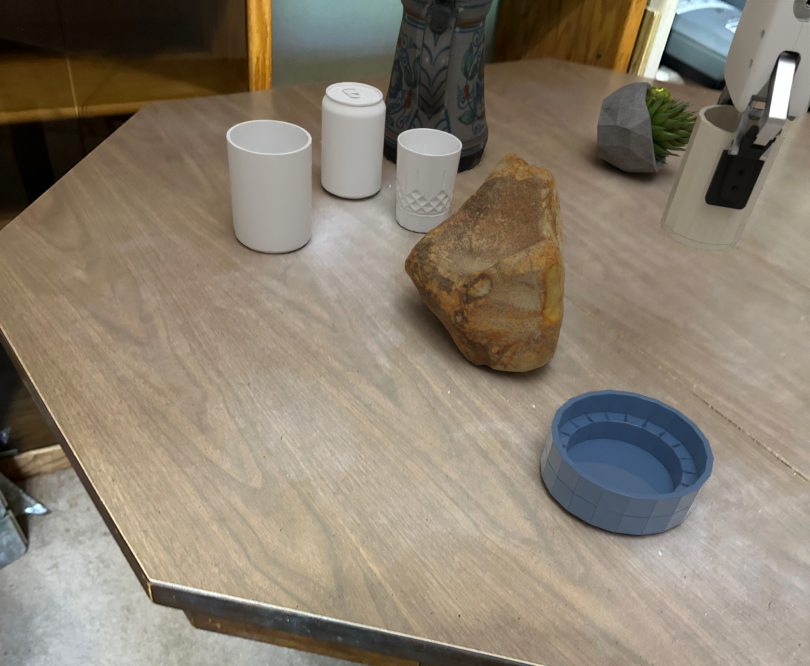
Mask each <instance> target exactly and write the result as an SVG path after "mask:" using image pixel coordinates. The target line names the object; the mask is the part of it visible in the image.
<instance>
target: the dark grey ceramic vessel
mask: <svg viewBox="0 0 810 666" xmlns="http://www.w3.org/2000/svg"><path fill="white" fill-rule="evenodd" d="M493 1H494V0H400V2H401V5H402V16H401V20H400V21H401V22H400V26H399V30H398V36H397V41H396V45H395V52H394V57H393V62H392V68H391V71H390V79H389V85H388V89H387V92H386V96H385V100H384V103H385V106H386V114H385V129H384V144H383V157H385V159H387V160H388V161H390V162H391V163H393V164H395V165H397V140H398V136H399V135H400V134H401V133H402V132H404V131H407V130H411V129H418V128H426V129H435V130H440V131H444V132H447V133H449V134H451V135H453V136H455V137H457V138H458V139H459V140H460V141H461V143H462V149H461V154H460V160H459V165H458V171H457V174H458V173H462V172H464V171H468V170H471V169H474V168H475V167H476V166H478V164H480V162H481V160H482V157H483V155H484V153H485V148H486V146H487V143H488V140H489V127H488V122H487V115H486V104H485V103H486V101H485V100H486V99H485V68H486V67H485V66H486V62H485V61H486V59H485V52H486V38H485V37H486V21H487V16H488V15H489V13H490V11H491V7H492V4H493Z"/></svg>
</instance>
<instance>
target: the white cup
mask: <svg viewBox="0 0 810 666" xmlns="http://www.w3.org/2000/svg"><path fill="white" fill-rule="evenodd" d="M461 149H462V143H461V141H460V140H459V139H458V138H457V137H455V136H453V135H451V134H449V133H447V132H444V131H440V130H435V129H426V128H418V129H411V130H407V131H404V132H402V133H401V134H400V135H399V136H398V140H397V164H396V167H395V168H396V169H395V170H396V171H395V172H396V173H395V198H396V205H395V220H396V222H397V223H398V224H399V226H401V227H402V228H405V229H406V230H409V231H411V232H415V233H420V234H421V233H422V234H426V233H427V232H429V231H430V230H431V229H434V228H435V227H437V226H438V225H439V224H441V223H442V222H443V221H445V220H446V219H448V218H449V212H450V208H451V205H452V200H453V197H454V193H455V186H456V182H457V174H458V173H457V171H458V165H459V160H460V154H461Z"/></svg>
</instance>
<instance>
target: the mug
mask: <svg viewBox="0 0 810 666" xmlns="http://www.w3.org/2000/svg"><path fill="white" fill-rule="evenodd" d="M225 137H226V149H227V151H226V152H227V162H228V173H229V174H228V175H229V185H230V187H229V189H230V199H231V211H232V222H233V230H234V234H235V237H236V239H237V240H238V241H239V242H240V243H242V245H244V246H245V247H247V248H249V249H250V250H253V251H256V252H260V253H265V254H287V253H291V252H295V251H296V250H299V249H300V248H302V247H303V246H305V245H306V244H307V243H308V242H309V241H310V240H311V237H312V228H313V223H312V222H313V214H312V213H313V207H312V206H313V197H312V196H313V171H312V170H313V163H312V162H313V161H312V160H313V152H312V151H313V150H312V148H313V146H312V145H313V143H312V142H313V141H312V139H313V138H312V136H311V134H310V132H309V131H307V130H306V128H303V127H301V126H299V125H297V124H294V123H290V122H286V121H282V120H274V119H257V120H256V119H253V120H248V121H243V122H239V123H237V124H235V125H232V126H231V127H230V128H229V129H228V130H227V132H226V135H225Z"/></svg>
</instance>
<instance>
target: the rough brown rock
mask: <svg viewBox="0 0 810 666" xmlns="http://www.w3.org/2000/svg"><path fill="white" fill-rule="evenodd" d="M561 211H562V210H561V200H560V193H559V184H558V182H557V180H556V177H555V175H554V174H553V173H552V172H551V171H550V170H549V169H548V168H546V167H545V166H543V165H537V164H529V163H528V162H527V161H526V160H525V159H524V158H523V157H521V156H520V155H519V154H517V153H514V152H511V153H508V154H506V155H505V156H503V157H502V158H501V159H500V160H499V161H498V162H497V164H496V165H495V166H494V167H493V169H492V170H491V172H489V173H488V175H487V176H486V178H485V179H484V181H483V182H482V183H481V184H480V186H479V187H478V188H477V190H476V191H475V192H474V193H473V194H472V195H471V196H470V197H469V198H467V200H465V202H463V204H461V206H460V207H459V208H458V209H457V210H456V211H455V212H454V213H453V214H452V215H451V216H448V218H447V219H446V220H445V221H443V222H442V223H441V224H439V225H438V226H437V227H435V228H434V229H431V230H430V231H429V232H427V233H424V235H423V236H422V237H421V239H420V240H419V241H417V243H416V244H415V245H414V246H413V247H412V249H411V250H410V253H409V254H408V255H407V257H406V259H405V261H404V270H405V272H406V274H407V275H408V277H409V279H410V280H411V281H412V283H413V285H414V286H415V288H416V290H417V292H418V295H419V297H420V298H421V301H422V302H423V303H424V304H425V305H426V307H427V308H428V309H429V310H430V312H432V314H434V315H435V316H436V317H437V319H438V320H439V322H441V323H442V324H443V326H444V328H445V330H447V332H448V333H449V335H450V337H451V339H452V340H453V342H454V343H455V345H456V347H457V348H458V350H459V351H460V353H461V354H462V355H463V356H464V357H465V359H467V360H468V361H469V362H472V364H473V365H475V366H477V367H478V366H482V365H485V366H487V367H489V368H491V369H493V370H496V371H503V372H518V373H526V372H530V371H533V370H535V369H538V368H541V367H543V366H545V365H547V363H549V362H550V361H551V360H552V359H553V358H554V357H555V353H556V350H557V347H558V342H559V339H560V333H561V328H562V325H563V320H564V310H565V305H564V297H565V279H566V269H565V263H564V259H563V250H562V249H563V248H562V244H563V215H562V212H561Z"/></svg>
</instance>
